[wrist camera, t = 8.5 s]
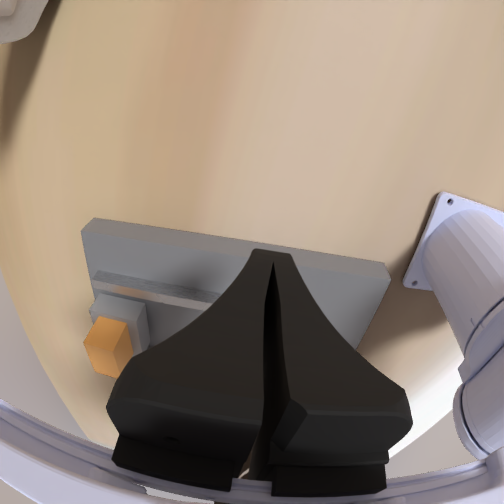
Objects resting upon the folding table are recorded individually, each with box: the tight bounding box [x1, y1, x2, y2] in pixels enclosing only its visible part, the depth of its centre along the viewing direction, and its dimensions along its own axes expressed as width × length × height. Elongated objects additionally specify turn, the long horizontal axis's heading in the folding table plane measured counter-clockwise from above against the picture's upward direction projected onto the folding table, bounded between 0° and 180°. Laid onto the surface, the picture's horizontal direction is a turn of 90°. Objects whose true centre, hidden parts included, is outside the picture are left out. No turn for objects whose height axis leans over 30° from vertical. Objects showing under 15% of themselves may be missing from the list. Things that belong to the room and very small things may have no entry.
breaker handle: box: [84, 293, 150, 379], centre depth 22 cm, size 4×4×5 cm
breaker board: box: [81, 218, 391, 357], centre depth 24 cm, size 22×15×3 cm
